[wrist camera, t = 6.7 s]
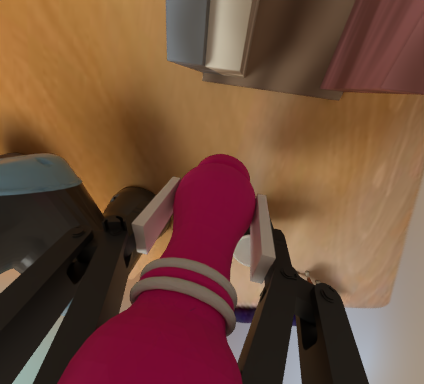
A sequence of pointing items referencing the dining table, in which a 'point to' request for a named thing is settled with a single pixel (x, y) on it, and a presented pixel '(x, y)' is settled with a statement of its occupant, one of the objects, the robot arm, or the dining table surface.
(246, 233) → the dixie cup
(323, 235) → the dining table surface
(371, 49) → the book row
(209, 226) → the pepper mill
